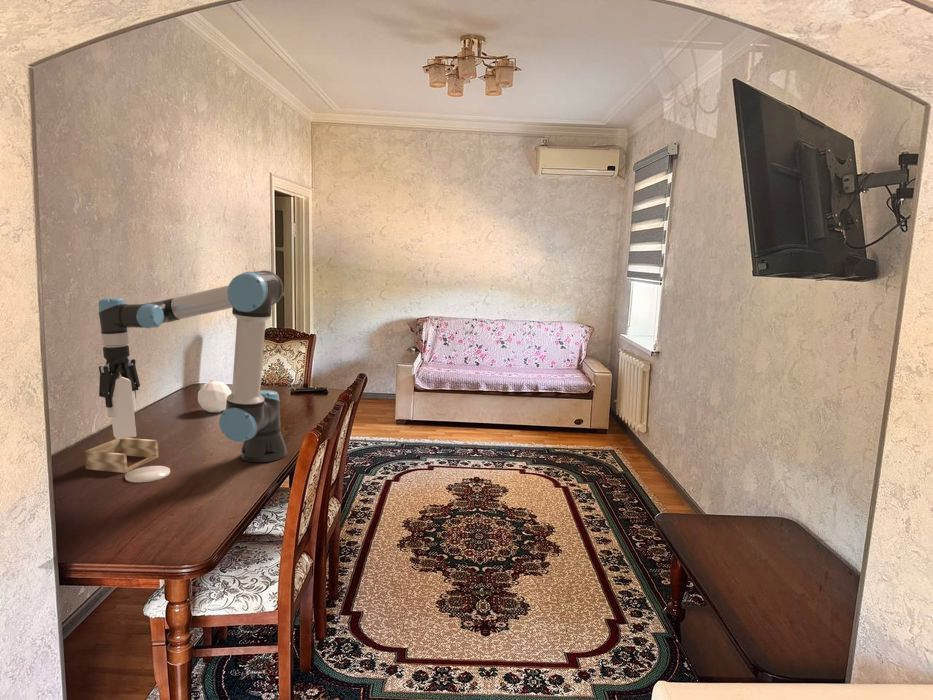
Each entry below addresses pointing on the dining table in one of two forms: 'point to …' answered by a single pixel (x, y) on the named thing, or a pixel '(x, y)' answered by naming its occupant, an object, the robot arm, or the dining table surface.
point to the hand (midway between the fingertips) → (122, 413)
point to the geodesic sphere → (213, 396)
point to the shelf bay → (120, 454)
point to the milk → (123, 409)
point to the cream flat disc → (147, 474)
